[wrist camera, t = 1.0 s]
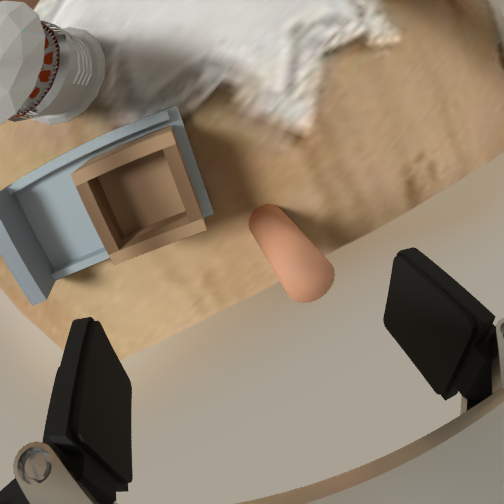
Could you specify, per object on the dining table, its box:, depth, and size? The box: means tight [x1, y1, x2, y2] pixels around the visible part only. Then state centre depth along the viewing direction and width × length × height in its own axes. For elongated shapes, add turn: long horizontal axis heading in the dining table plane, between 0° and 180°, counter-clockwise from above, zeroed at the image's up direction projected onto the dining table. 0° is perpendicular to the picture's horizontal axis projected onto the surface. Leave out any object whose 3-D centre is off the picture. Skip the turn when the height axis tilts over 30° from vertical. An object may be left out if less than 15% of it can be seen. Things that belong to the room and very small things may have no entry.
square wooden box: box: [70, 125, 207, 265], centre depth 25 cm, size 8×8×6 cm
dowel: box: [249, 204, 335, 303], centre depth 29 cm, size 4×4×12 cm
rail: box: [0, 105, 214, 305], centre depth 26 cm, size 20×11×6 cm, turn 106°
